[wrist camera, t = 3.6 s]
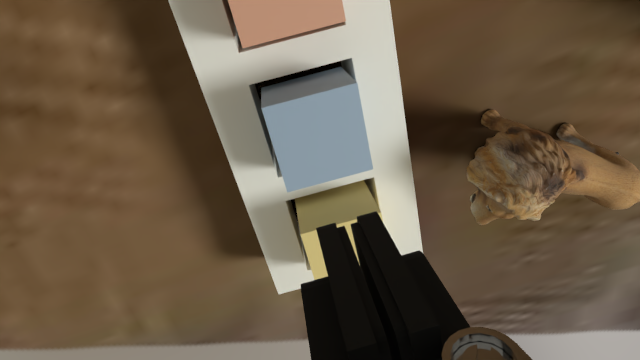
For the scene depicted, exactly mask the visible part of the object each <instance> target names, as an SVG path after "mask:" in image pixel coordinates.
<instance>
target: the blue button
mask: <svg viewBox="0 0 640 360" xmlns="http://www.w3.org/2000/svg"><path fill="white" fill-rule="evenodd" d="M261 109H262V112H263V115H264V119H265V122H266V125H267V128H268V132H269V135H270V138H271V141H272V144H273V148H274V151H275V154H276V157H277V161H278V164H279V167H280V170H281V173H282V177H283V180H284V183H285V186H286V190H287V193H288V192H291V191H295V190H299V189H302V188H306V187H310V186H313V185H317V184H321V183H324V182H328V181H332V180H336V179H339V178H343V177H347V176H350V175H354V174H358V173H361V172H365V171H369V170H372V169H373V165H372V160H371V154H370V149H369V143H368V138H367V133H366V127H365V122H364V116H363V111H362V105H361V100H360V95H359V89H358V84H357V82H356V81H355V80H354V79H353V78H352V77H351V76H350V75H349V74H348V73H347V72H346V71H345V70H344V69H343V68H342V67H337V68H334V69H330V70H326V71H322V72H319V73H315V74H311V75H307V76H303V77H300V78H296V79H292V80H288V81H285V82H281V83H277V84H273V85H270V86H266V87H262V88H261Z"/></svg>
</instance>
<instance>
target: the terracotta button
mask: <svg viewBox="0 0 640 360" xmlns="http://www.w3.org/2000/svg"><path fill="white" fill-rule="evenodd" d="M228 3H229V6H230V9H231V12H232V16H233V19H234V22H235V25H236V28H237V32H238V35H239V38H240V41H241V45H242V48H246V47H250V46H254V45H258V44H261V43H265V42H269V41H273V40H277V39H280V38H284V37H288V36H292V35H296V34H299V33H303V32H307V31H311V30H315V29H318V28H322V27H326V26H330V25H334V24H338V23H341V22H345V21H346V19H345V13H344V8H343V2H342V0H228Z"/></svg>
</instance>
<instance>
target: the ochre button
mask: <svg viewBox="0 0 640 360" xmlns="http://www.w3.org/2000/svg"><path fill="white" fill-rule="evenodd" d="M295 204H296V210H297V216H298V222H299V229H300V235H301V238H302V241H303V244H304V248H305V251H306V254H307V257H308V260H309V264H310V267H311V270H312V273H313V277H314V280H317V279H320V278H324V277H327V276H328V274H327V270H326V266H325V262H324V258H323V254H322V250H321V246H320V242H319V238H318V234H317V230H316V228H318V227H321V226H325V225H328V224H332V223H336V226H337V228H338V227H341V226H345V228H346V231H347V233H348V236H349V239H350V241H351V244H352V246H353V249H354V252H355V254H356V257H357V260H358V262H359V259H358V255H357V251H356V247H355V242H354V238H353V234H352V229H351V224H352V223H356V222H357V216H361V215H364V214H368V213H371V212H375V211H377V213H378V214H379V216H380V218H381V220H382V222H383V219H382V214H381V211H380V209H379V207H378V205H377V204H376V202H375V200H374V198H373V196H372V194H371V192H370V191H369V189H368V187H367V185H366V183H365V181H364V180H362V181H358V182H354V183H351V184H347V185H343V186H339V187H336V188H332V189H328V190H325V191H321V192H317V193H314V194H310V195H306V196H303V197H299V198H295ZM359 265H360V264H359Z"/></svg>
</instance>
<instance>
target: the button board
mask: <svg viewBox="0 0 640 360" xmlns="http://www.w3.org/2000/svg"><path fill="white" fill-rule="evenodd" d="M168 1H169V4H170V7H171V9H172V12H173V15H174V17H175V20H176V23H177V25H178V28H179V31H180V33H181V36H182V39H183V41H184V44H185V47H186V49H187V52H188V55H189V57H190V60H191V63H192V65H193V68H194V71H195V73H196V76H197V79H198V81H199V84H200V86H201V89H202V92H203V94H204V97H205V100H206V102H207V105H208V108H209V110H210V113H211V116H212V118H213V121H214V124H215V126H216V129H217V132H218V134H219V137H220V140H221V142H222V145H223V148H224V150H225V153H226V156H227V158H228V161H229V164H230V166H231V169H232V172H233V174H234V177H235V180H236V182H237V185H238V188H239V190H240V193H241V196H242V198H243V201H244V203H245V206H246V209H247V211H248V214H249V217H250V219H251V222H252V225H253V227H254V230H255V233H256V235H257V238H258V241H259V243H260V246H261V249H262V251H263V254H264V257H265V259H266V262H267V265H268V267H269V270H270V273H271V275H272V278H273V281H274V283H275V286H276V289H277V291H278V294H282V293H286V292H289V291H293V290H296V289H300V288H301V284H302V283H306V282H310V281H313V280H314V277H313V273H312V270H311V267H310V264H309V260H308V257H307V254H306V251H305V248H304V244H303V241H302V238H301V235H300V229H299V225H298V222H297V219H296V216H295V212H294V209H293V206H292V203H291V200H292V199H295V198H299V197H303V196H306V195H310V194H314V193H317V192H321V191H325V190H328V189H332V188H336V187H339V186H343V185H347V184H351V183H354V182H358V181H362V180H365V183H366V185H367V187H368V189H369V191H370V192H371V194H372V196H373V198H374V200H375V202H376V204H377V205H378V207H379V209H380V211H381V214H382V219H383V223H384V225H385V227H386V229H387V231H388V232H389V234H390V236H391V238H392V240H393V241H394V243H395V245H396V247H397V249H398V250H399V252H400V254H401V255H405V254H408V253H412V252H415V251H421V252H422V253H423V250H422V242H421V235H420V227H419V219H418V212H417V204H416V197H415V189H414V182H413V174H412V166H411V159H410V151H409V144H408V136H407V129H406V121H405V114H404V106H403V98H402V91H401V83H400V76H399V68H398V61H397V53H396V45H395V38H394V30H393V23H392V15H391V8H390V0H342V2H343V8H344V13H345V19H346V21H345V22H341V23H338V24H334V25H330V26H326V27H322V28H318V29H315V30H311V31H307V32H303V33H299V34H296V35H292V36H288V37H284V38H280V39H277V40H273V41H269V42H265V43H261V44H258V45H254V46H250V47H246V48H242V45H241V41H240V38H239V35H238V32H237V28H236V25H235V22H234V19H233V16H232V12H231V9H230V6H229V3H228V0H168ZM338 61H341V65H342V68H343V69H344V70H345V71H346V72H347V73H348V74H349V75H350V76H351V77H352V78H353V79H354V80H355V81H356V82H357V84H358V89H359V95H360V100H361V105H362V111H363V116H364V122H365V127H366V133H367V138H368V143H369V149H370V154H371V160H372V165H373V169H372V170H369V171H365V172H361V173H358V174H354V175H350V176H347V177H343V178H339V179H336V180H332V181H328V182H324V183H321V184H317V185H313V186H310V187H306V188H302V189H299V190H295V191H291V192H288V193H287V190H286V186H285V183H284V180H283V177H282V173H281V170H280V167H279V164H278V161H277V157H276V154H275V151H274V148H273V144H272V141H271V138H270V135H269V132H268V128H267V125H266V122H265V119H264V115H263V112H262V109H261V102H260V99H259V96H258V93H257V90H256V86H255V83H259V82H262V81H266V80H270V79H274V78H278V77H281V76H285V75H289V74H293V73H296V72H300V71H304V70H308V69H312V68H315V67H319V66H323V65H327V64H330V63H334V62H338Z"/></svg>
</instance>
